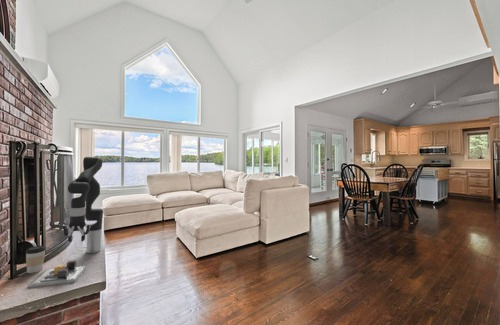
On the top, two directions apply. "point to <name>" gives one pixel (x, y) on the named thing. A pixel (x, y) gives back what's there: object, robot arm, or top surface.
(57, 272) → the toggle
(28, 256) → the coffee cup
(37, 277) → the breaker panel
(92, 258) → the top surface
